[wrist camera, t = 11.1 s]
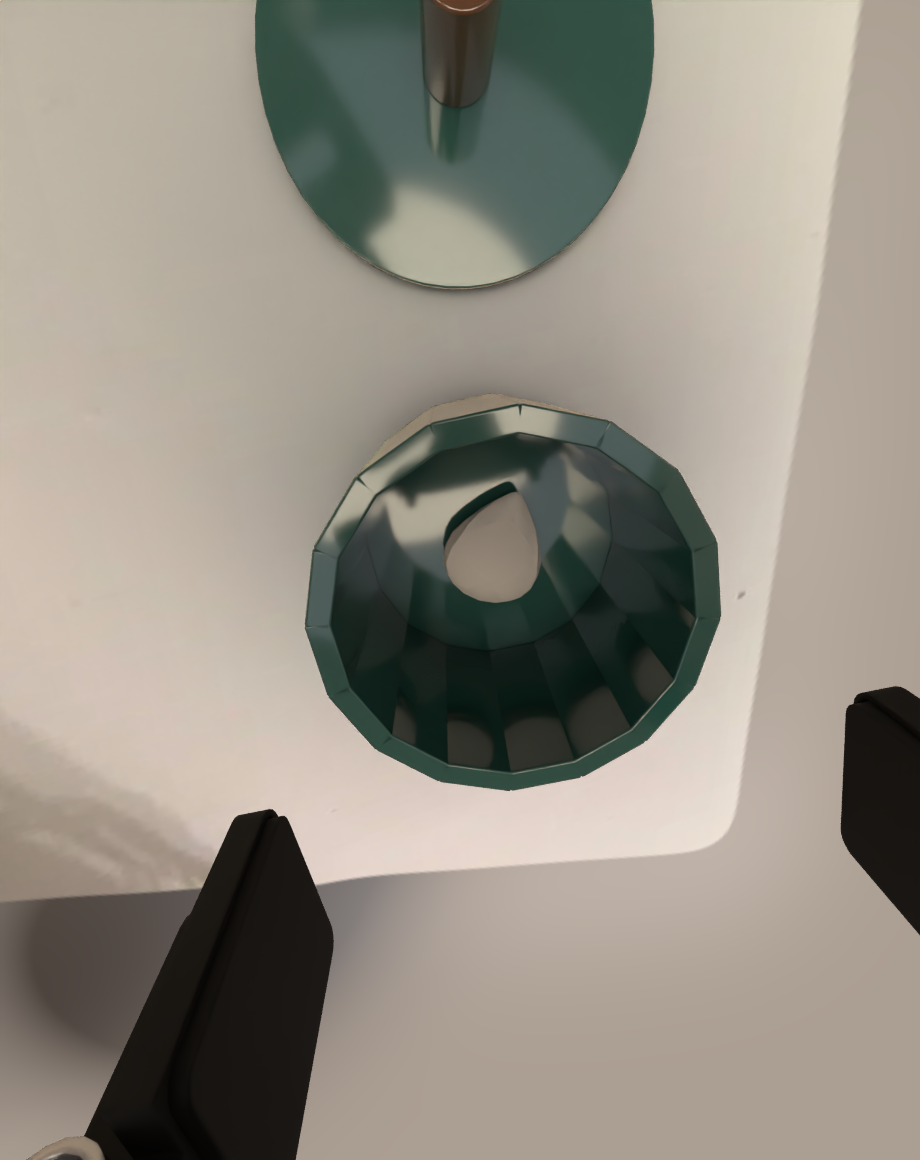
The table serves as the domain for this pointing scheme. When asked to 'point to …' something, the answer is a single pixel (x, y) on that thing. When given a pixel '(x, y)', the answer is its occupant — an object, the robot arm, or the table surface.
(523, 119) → the lid
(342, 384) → the table surface
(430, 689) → the canister
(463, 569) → the beige teardrop wedge
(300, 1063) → the robot arm
